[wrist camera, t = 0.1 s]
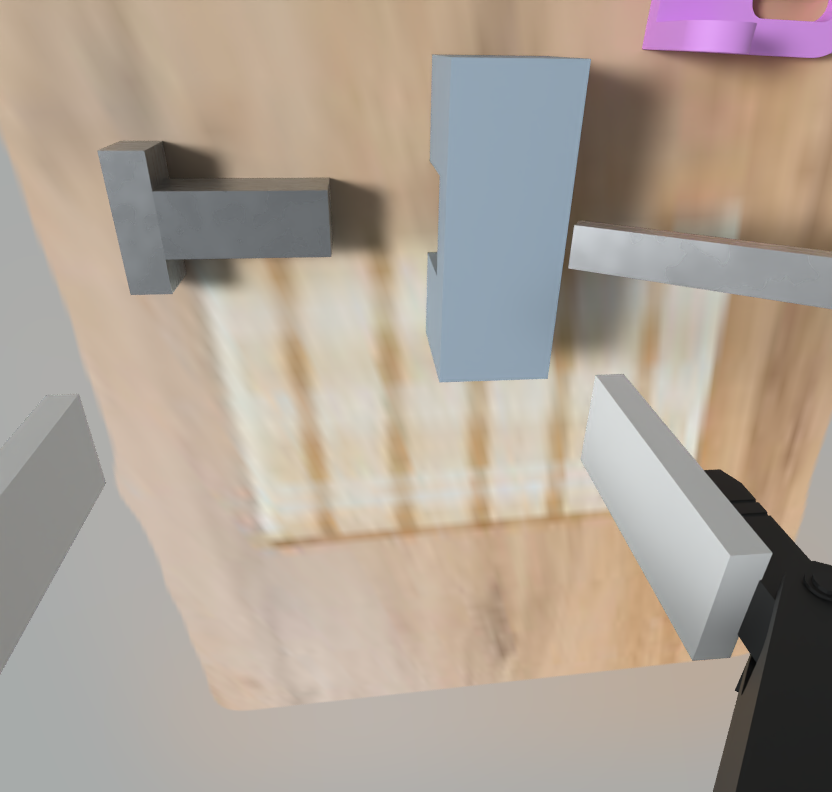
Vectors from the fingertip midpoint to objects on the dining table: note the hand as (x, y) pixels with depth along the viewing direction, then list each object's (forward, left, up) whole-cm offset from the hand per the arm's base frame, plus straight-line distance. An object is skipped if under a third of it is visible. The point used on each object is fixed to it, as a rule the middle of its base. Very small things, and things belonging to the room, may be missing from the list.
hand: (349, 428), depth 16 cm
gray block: (+1, -7, -28) cm, 29 cm away
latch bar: (+1, +19, -16) cm, 25 cm away
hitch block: (+1, +9, -28) cm, 29 cm away
